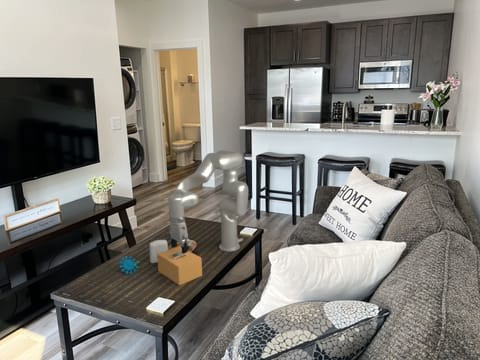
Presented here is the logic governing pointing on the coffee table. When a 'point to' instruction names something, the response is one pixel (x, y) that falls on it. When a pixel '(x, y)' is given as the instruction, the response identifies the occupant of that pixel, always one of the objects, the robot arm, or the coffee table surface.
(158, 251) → the photo printer
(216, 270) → the coffee table surface
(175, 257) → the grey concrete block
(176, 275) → the tissue box
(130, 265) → the gear
